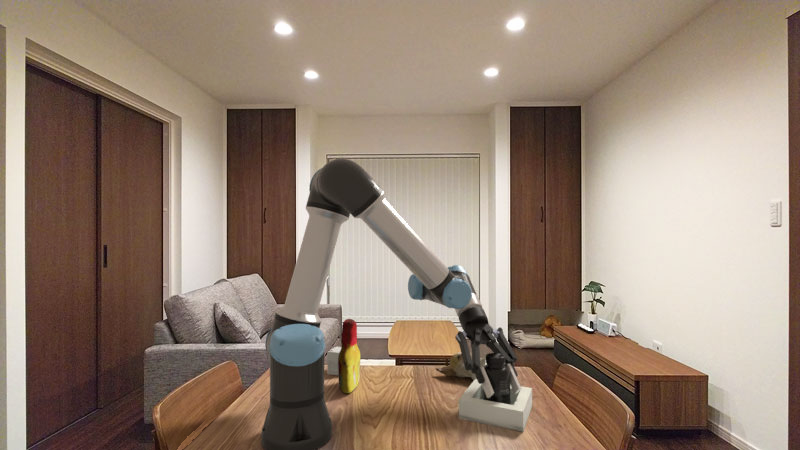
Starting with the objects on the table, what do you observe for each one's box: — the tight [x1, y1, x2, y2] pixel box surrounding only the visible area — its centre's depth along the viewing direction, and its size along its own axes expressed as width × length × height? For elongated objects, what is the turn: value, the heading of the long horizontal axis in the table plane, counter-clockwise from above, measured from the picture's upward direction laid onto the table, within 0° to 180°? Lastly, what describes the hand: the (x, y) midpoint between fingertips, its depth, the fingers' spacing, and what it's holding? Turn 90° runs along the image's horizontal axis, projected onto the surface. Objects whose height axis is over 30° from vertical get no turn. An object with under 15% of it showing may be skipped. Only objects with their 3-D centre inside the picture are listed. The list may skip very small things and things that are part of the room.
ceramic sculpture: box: [435, 352, 486, 382], centre depth 122 cm, size 11×9×15 cm
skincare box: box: [326, 346, 342, 376], centre depth 127 cm, size 6×6×7 cm
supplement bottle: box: [482, 352, 511, 404], centre depth 98 cm, size 7×7×12 cm
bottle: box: [338, 318, 361, 394], centre depth 114 cm, size 12×6×20 cm, turn 177°
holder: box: [458, 379, 533, 433], centre depth 98 cm, size 15×15×4 cm
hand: (504, 393), depth 95 cm, fingers open, 7 cm apart
